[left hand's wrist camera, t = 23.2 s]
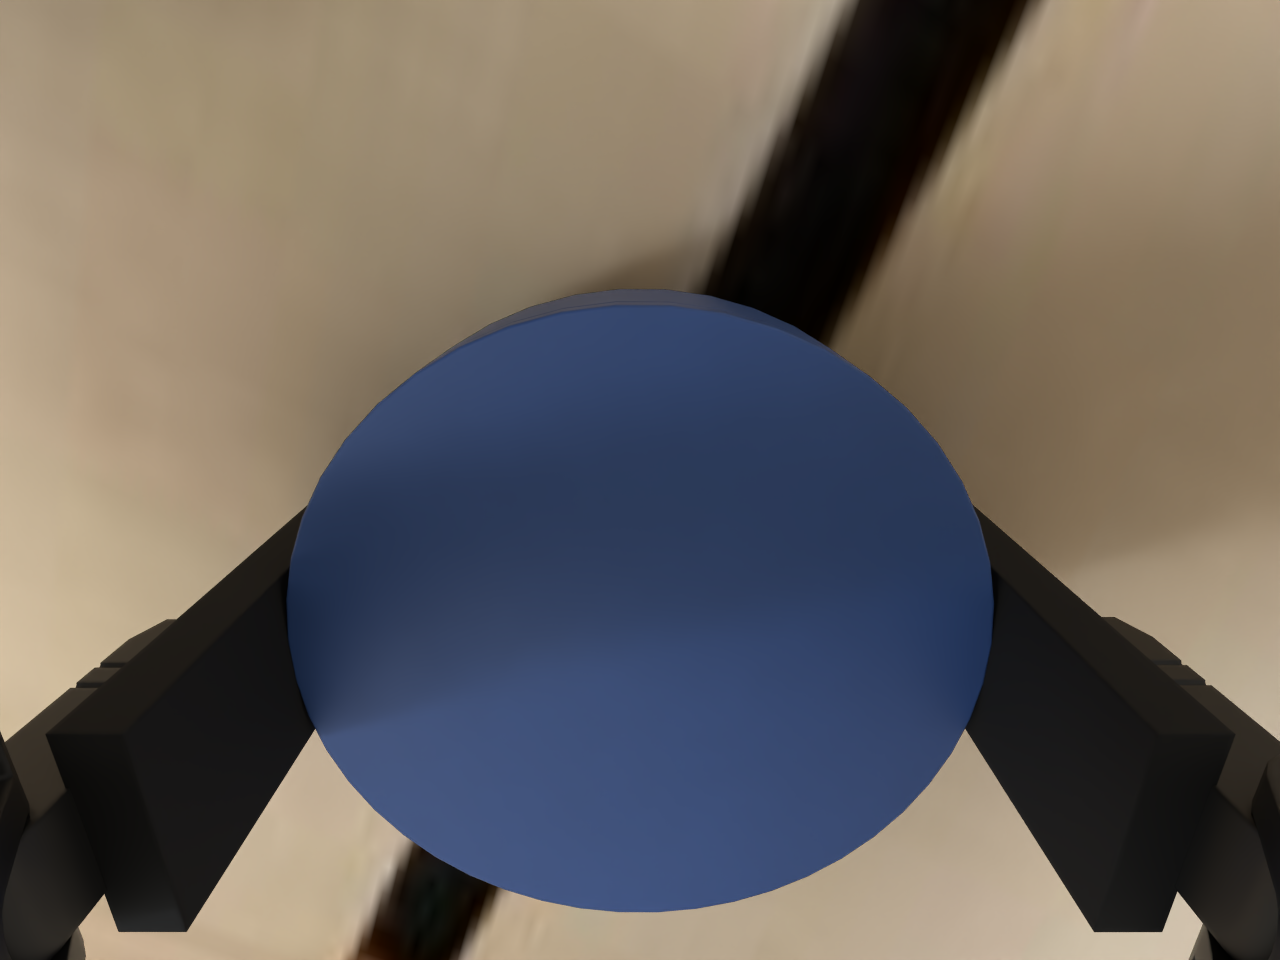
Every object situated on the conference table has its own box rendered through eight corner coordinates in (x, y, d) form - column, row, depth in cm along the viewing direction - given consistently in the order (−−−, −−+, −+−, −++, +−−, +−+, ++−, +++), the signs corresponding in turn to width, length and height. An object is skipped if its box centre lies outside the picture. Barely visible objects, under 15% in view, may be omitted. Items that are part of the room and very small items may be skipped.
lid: (1068, 521, 11) (1149, 580, 10) (705, 893, 14) (714, 992, 13) (540, 138, 9) (516, 119, 8) (244, 660, 12) (175, 738, 11)
